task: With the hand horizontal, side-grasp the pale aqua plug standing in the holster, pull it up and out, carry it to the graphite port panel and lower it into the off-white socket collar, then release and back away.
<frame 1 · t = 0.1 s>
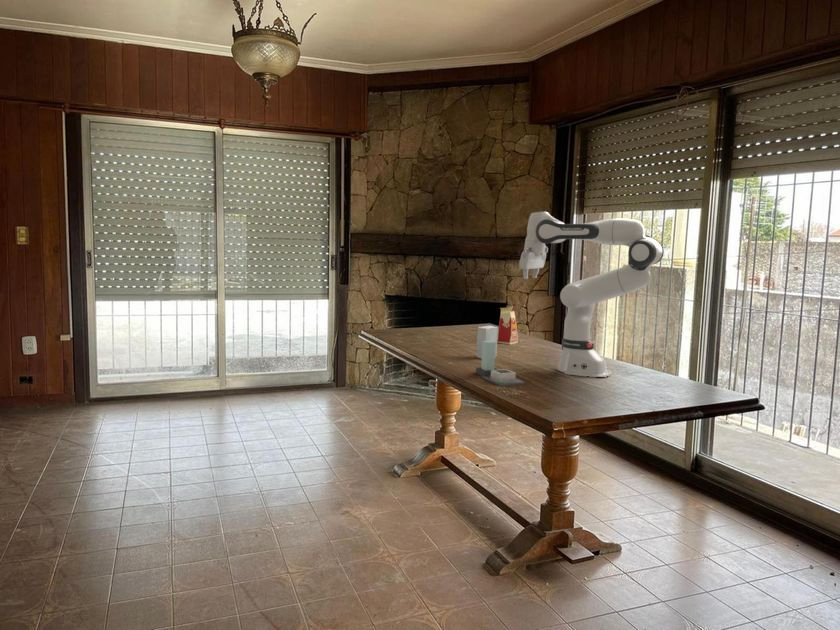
hand: (529, 278, 285), 39 cm above the table, tool pointing down, fingers open, 8 cm apart
milk carton: (506, 342, 344), on the table
port panel: (502, 381, 254), on the table
skincare box: (486, 358, 300), on the table
plug: (488, 358, 264), in the holster
holster: (487, 374, 265), on the table
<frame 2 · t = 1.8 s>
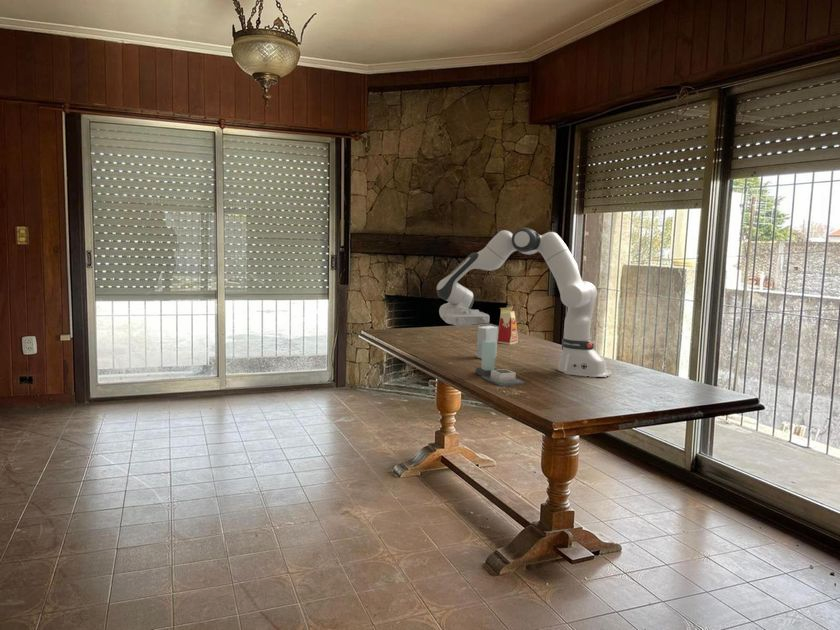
hand: (475, 321, 273), 21 cm above the table, tool horizontal, fingers open, 8 cm apart
nothing on the table moved.
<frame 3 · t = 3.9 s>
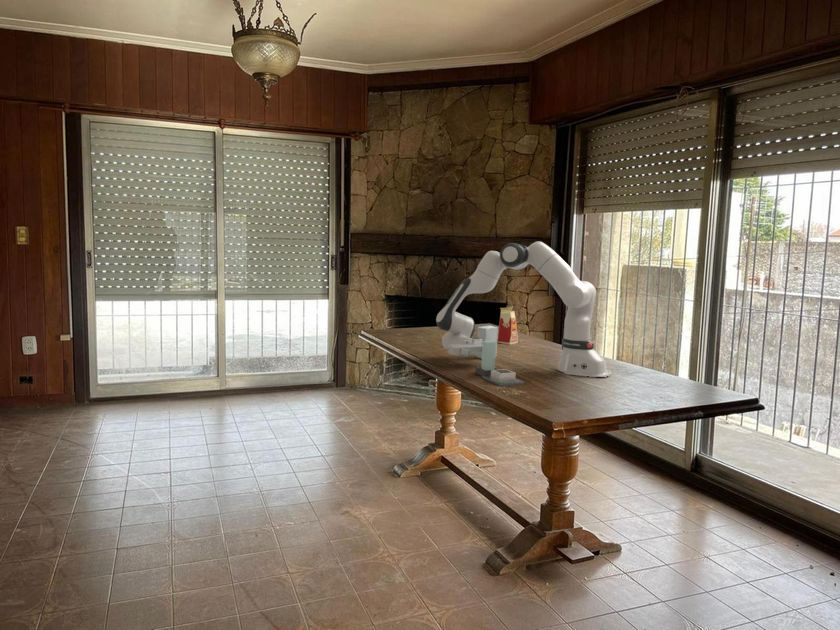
hand: (478, 352, 271), 8 cm above the table, tool horizontal, fingers open, 8 cm apart
nothing on the table moved.
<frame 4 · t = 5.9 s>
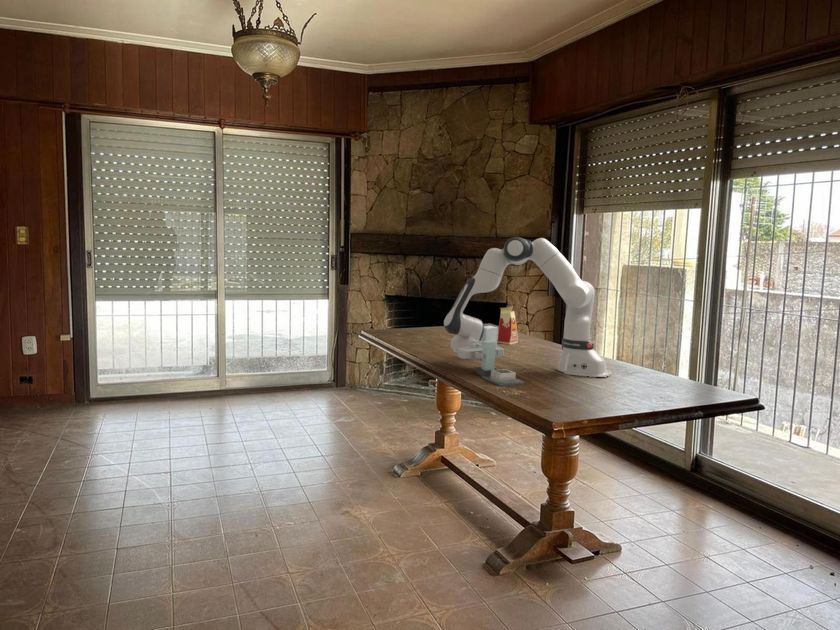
hand: (489, 356, 263), 8 cm above the table, tool horizontal, fingers closed on plug, 4 cm apart
plug: (488, 358, 264), in the holster, touching gripper
everything else where it was.
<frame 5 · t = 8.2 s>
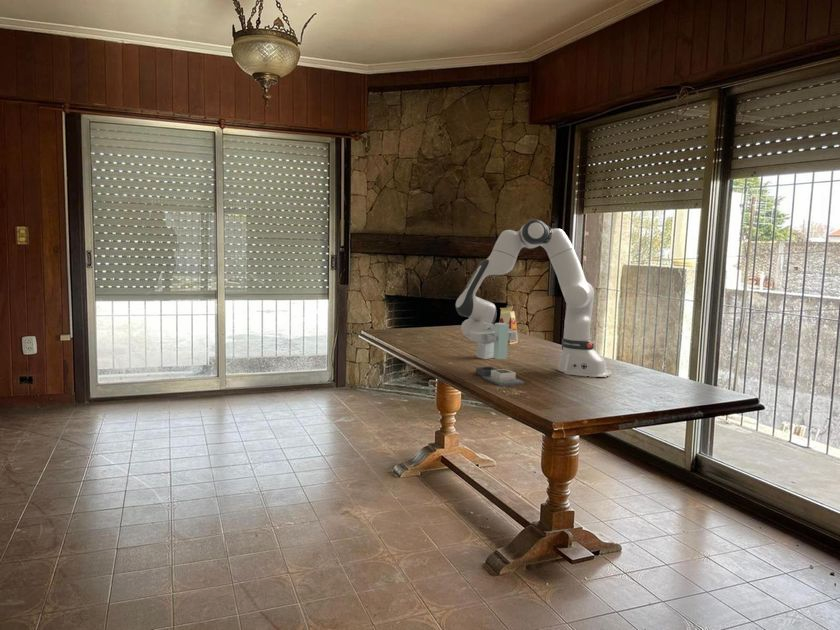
hand: (502, 338, 253), 17 cm above the table, tool horizontal, fingers closed on plug, 4 cm apart
plug: (501, 340, 254), point 16 cm above the table, touching gripper
everything else where it was.
when the fingers open (10 cm above the table, at t = 10.5 s): plug stays where it is, resting on port panel.
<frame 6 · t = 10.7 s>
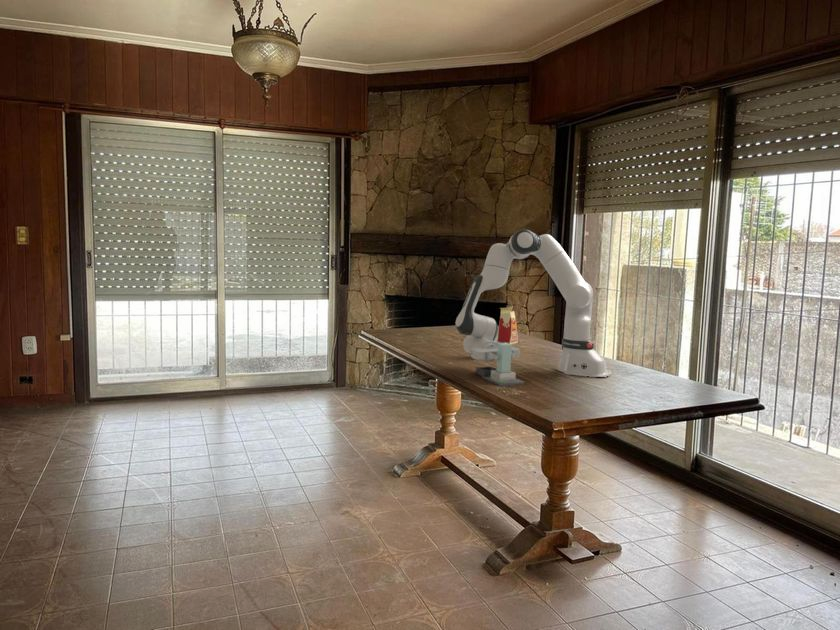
hand: (505, 357, 252), 10 cm above the table, tool horizontal, fingers open, 6 cm apart
plug: (503, 361, 253), in the port panel, point 8 cm above the table
everything else where it was.
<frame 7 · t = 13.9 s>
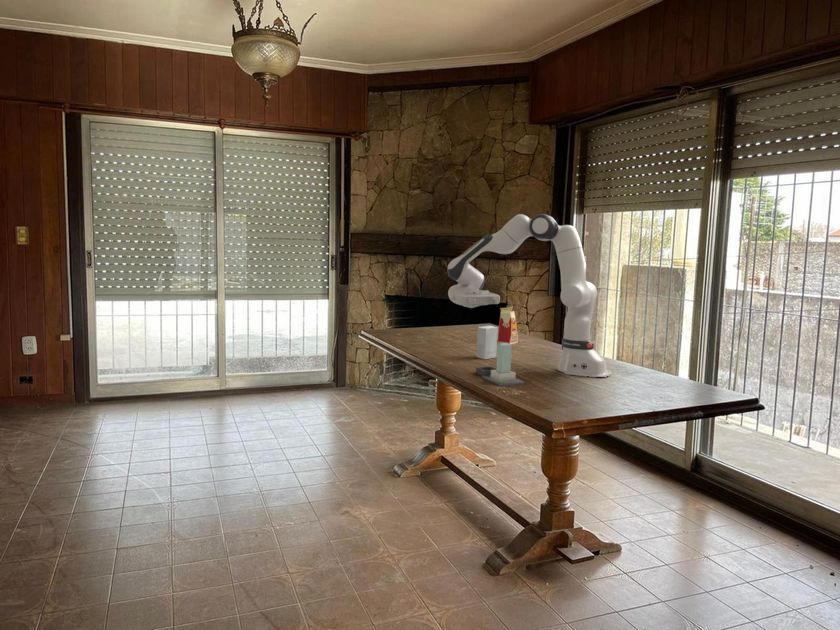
hand: (486, 301, 268), 30 cm above the table, tool horizontal, fingers open, 8 cm apart
nothing on the table moved.
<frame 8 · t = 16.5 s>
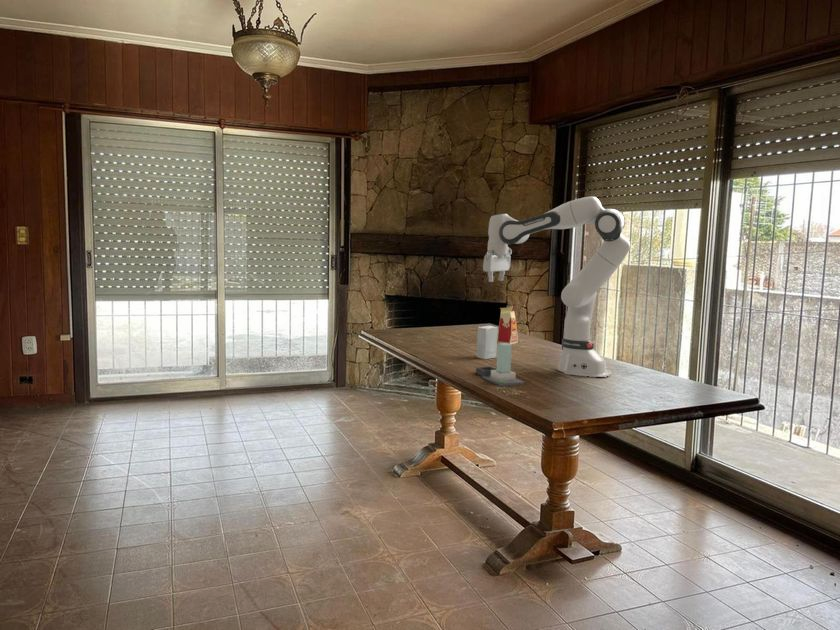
hand: (495, 281, 285), 37 cm above the table, tool pointing down, fingers open, 8 cm apart
nothing on the table moved.
at the end: plug 0.1 cm off-centre on the port panel, point 8.0 cm above the port panel's base; plug tilted 0°; the gripper is holding nothing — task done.
